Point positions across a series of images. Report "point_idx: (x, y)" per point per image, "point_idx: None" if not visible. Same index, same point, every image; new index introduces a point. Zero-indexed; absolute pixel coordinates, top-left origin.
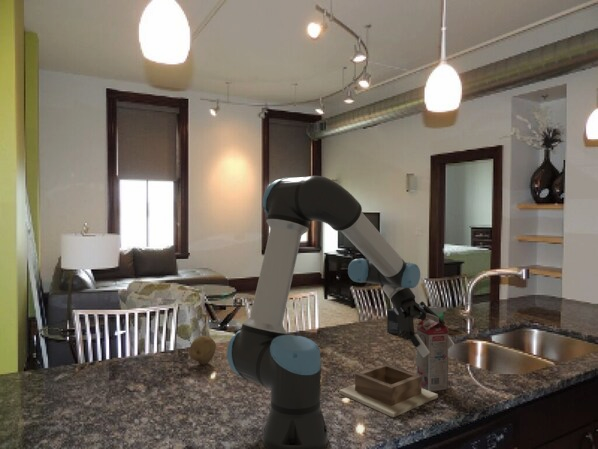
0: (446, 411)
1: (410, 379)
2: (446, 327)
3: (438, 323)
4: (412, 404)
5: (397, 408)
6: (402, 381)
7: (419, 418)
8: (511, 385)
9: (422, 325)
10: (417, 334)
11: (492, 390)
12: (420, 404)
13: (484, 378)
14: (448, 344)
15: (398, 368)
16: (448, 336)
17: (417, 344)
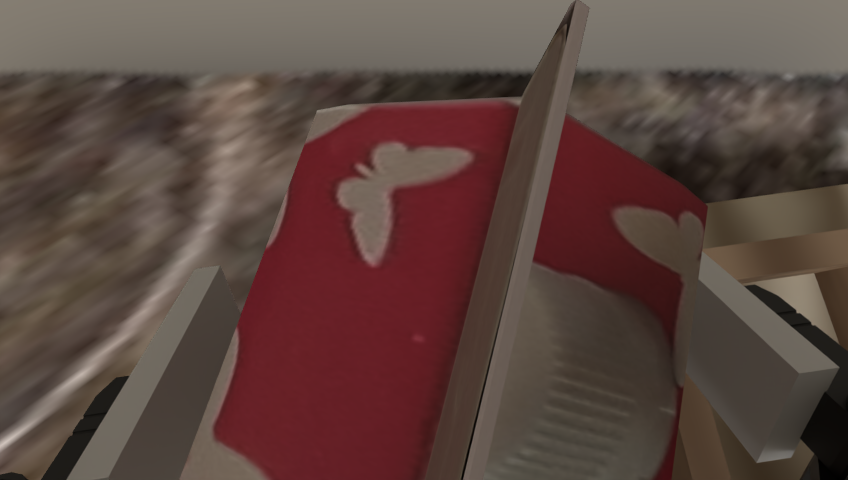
0: (593, 118)
1: (737, 255)
2: (340, 122)
3: (426, 208)
4: (723, 205)
5: (817, 209)
6: (806, 257)
7: (744, 130)
8: (87, 148)
9: (661, 469)
10: (792, 358)
11: (222, 156)
12: None
13: (99, 275)
14: (227, 324)
15: (689, 459)
16: (168, 333)
17: (762, 296)
